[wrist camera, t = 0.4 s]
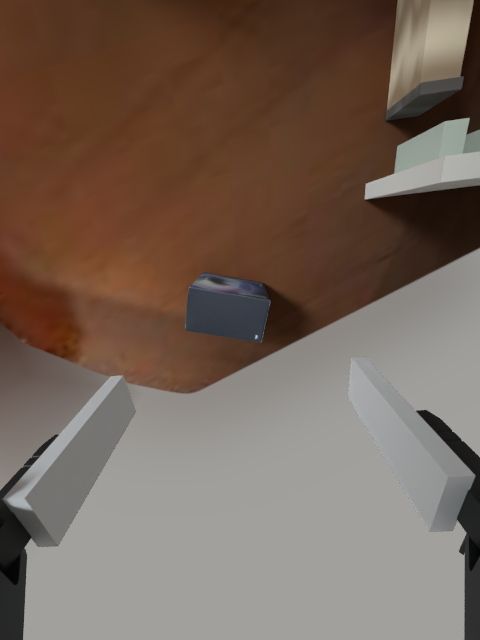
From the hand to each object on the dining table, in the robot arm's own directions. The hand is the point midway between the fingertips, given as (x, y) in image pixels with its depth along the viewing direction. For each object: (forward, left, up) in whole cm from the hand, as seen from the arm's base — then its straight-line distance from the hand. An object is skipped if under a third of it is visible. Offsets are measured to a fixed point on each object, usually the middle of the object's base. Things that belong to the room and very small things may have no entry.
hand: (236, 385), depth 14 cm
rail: (-27, +23, -27) cm, 45 cm away
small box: (+2, -2, -27) cm, 27 cm away
